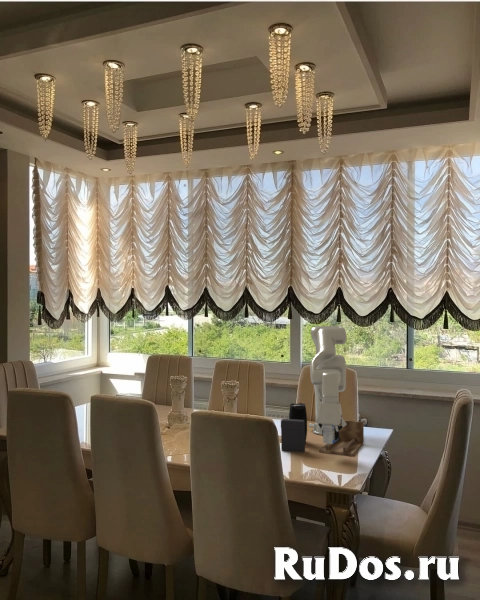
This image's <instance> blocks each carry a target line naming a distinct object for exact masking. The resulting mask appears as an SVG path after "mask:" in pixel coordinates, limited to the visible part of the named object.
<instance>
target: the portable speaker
mask: <svg viewBox="0 0 480 600" xmlns="http://www.w3.org/2000/svg"><path fill="white" fill-rule="evenodd" d="M306 406H307V405H306V403H304V402H298V403H290V405H289V410H288V411H289V413H288V419H296V420H304V421H305V444H306V443H307V436H308V415H307V414H308V413H307V407H306Z"/></svg>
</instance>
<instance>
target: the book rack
mask: <svg viewBox="0 0 480 600" xmlns="http://www.w3.org/2000/svg"><path fill="white" fill-rule="evenodd" d="M344 421H345V422H346V424H347V425H346V426H344V427H343V428H341V429H340V430H339V438H338V440H337V441H336V442H335V443H333V444H327V443H324V445H323V446H322V447H321V448H319V450H318V453H322V454H323V453H325V454H331V455H340V456H348V457H353V456H354V455H355V454H357V452H358V451H359V450H361V448H362V447H363V445H364V444H365V437H364V434H365V432H364V421H357V420H346V419H344ZM341 425H342V423H340V425H339V426H341Z"/></svg>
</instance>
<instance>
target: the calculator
mask: <svg viewBox="0 0 480 600" xmlns="http://www.w3.org/2000/svg"><path fill="white" fill-rule="evenodd" d="M280 431H281V432H280V433H281V434H280V435H281V437H280V438H281V439H280V443H281V445H280V447H281V452H288V453H289V452H290V453H292V452H293V453H302V454H303V453H304V452H306V443H305V421H304V420H296V419H289V418H282V419H281V420H280Z"/></svg>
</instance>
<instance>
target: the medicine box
mask: <svg viewBox="0 0 480 600" xmlns="http://www.w3.org/2000/svg"><path fill="white" fill-rule="evenodd" d="M335 431H336V429H335V425H330V424H323V436H322V440H323V441H322V442H323V444H333V443H335V442H336V441H337V440H338V439H337V440H335Z"/></svg>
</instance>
